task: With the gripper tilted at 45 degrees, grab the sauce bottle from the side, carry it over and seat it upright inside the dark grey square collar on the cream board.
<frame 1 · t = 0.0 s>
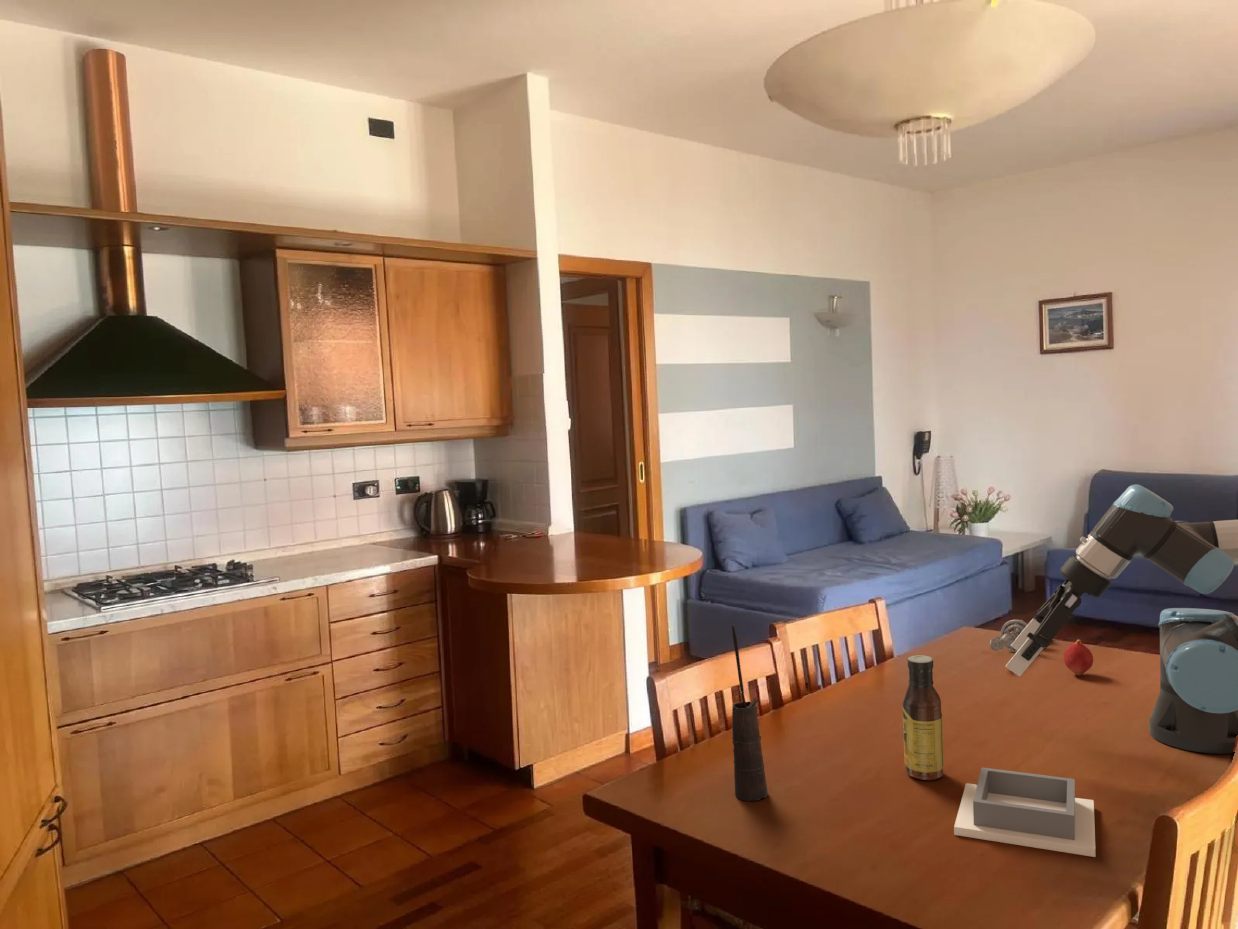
hand: (1014, 660, 163), 15 cm above the table, fingers open, 13 cm apart
sauce bottle: (924, 776, 153), on the table
spaceship: (1017, 653, 220), on the table
bottle stand: (1025, 821, 135), on the table
butter churn: (755, 793, 149), on the table
onion: (1078, 676, 201), on the table
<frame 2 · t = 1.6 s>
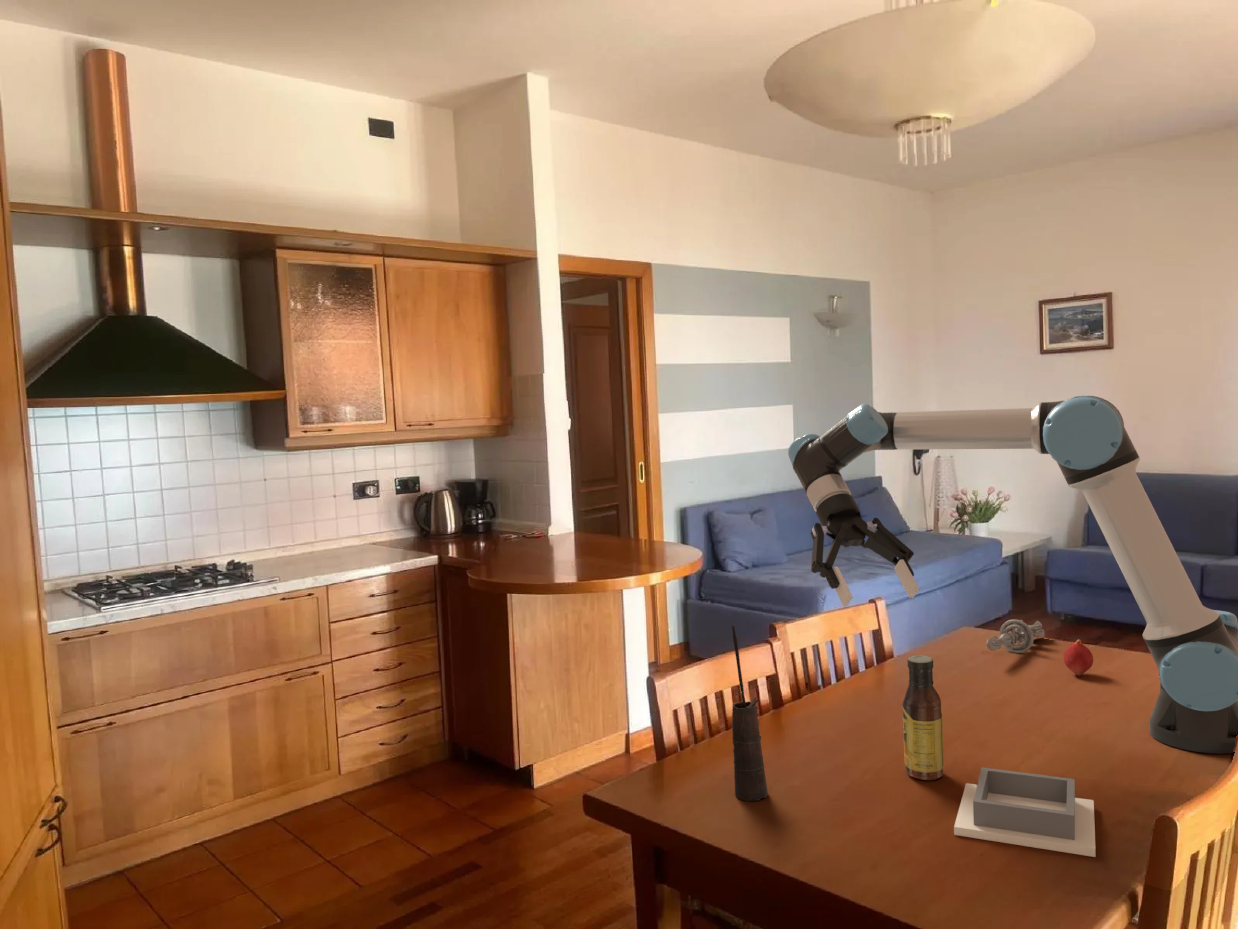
hand: (881, 598, 161), 28 cm above the table, fingers open, 13 cm apart
nothing on the table moved.
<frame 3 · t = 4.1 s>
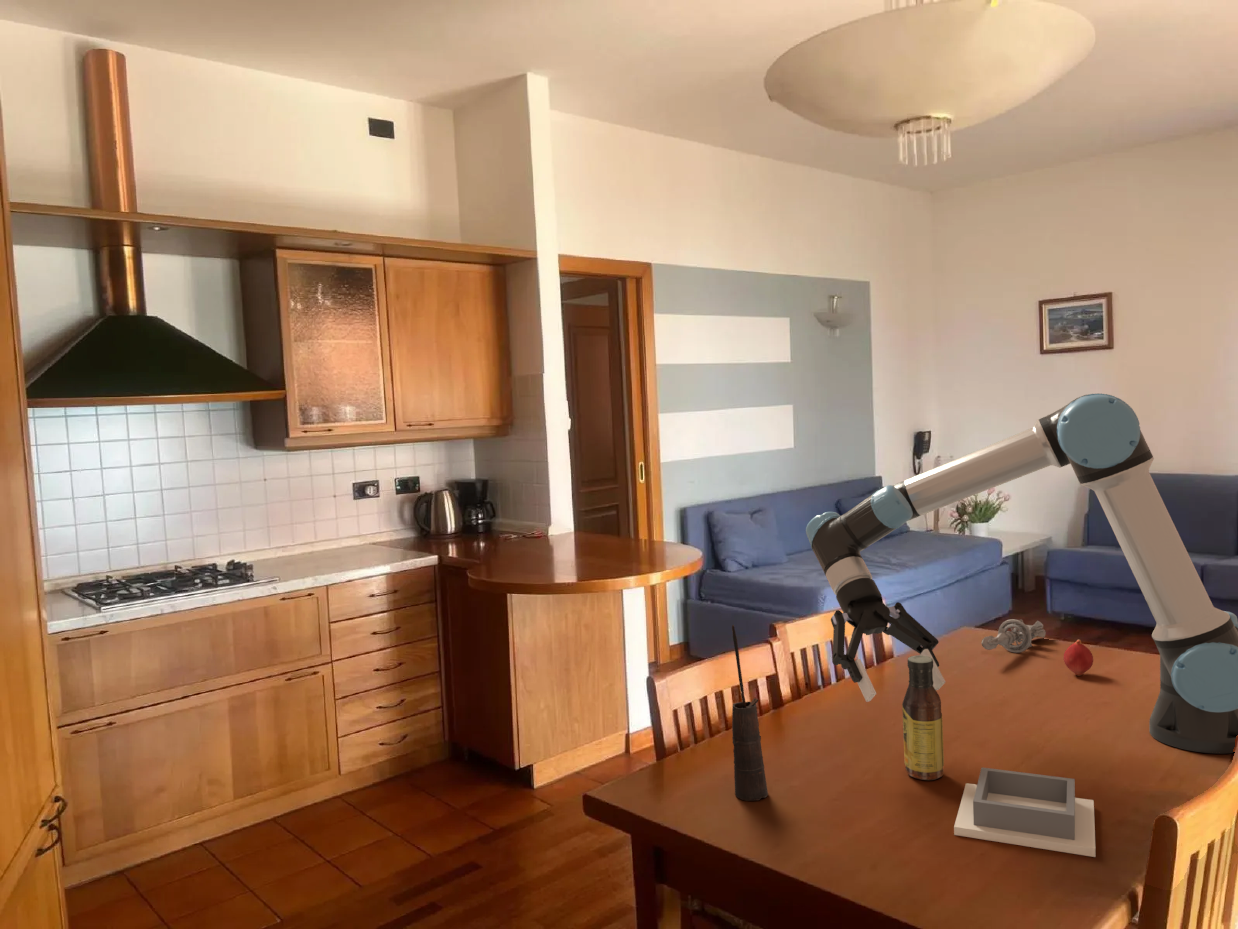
hand: (906, 692, 155), 13 cm above the table, fingers open, 13 cm apart
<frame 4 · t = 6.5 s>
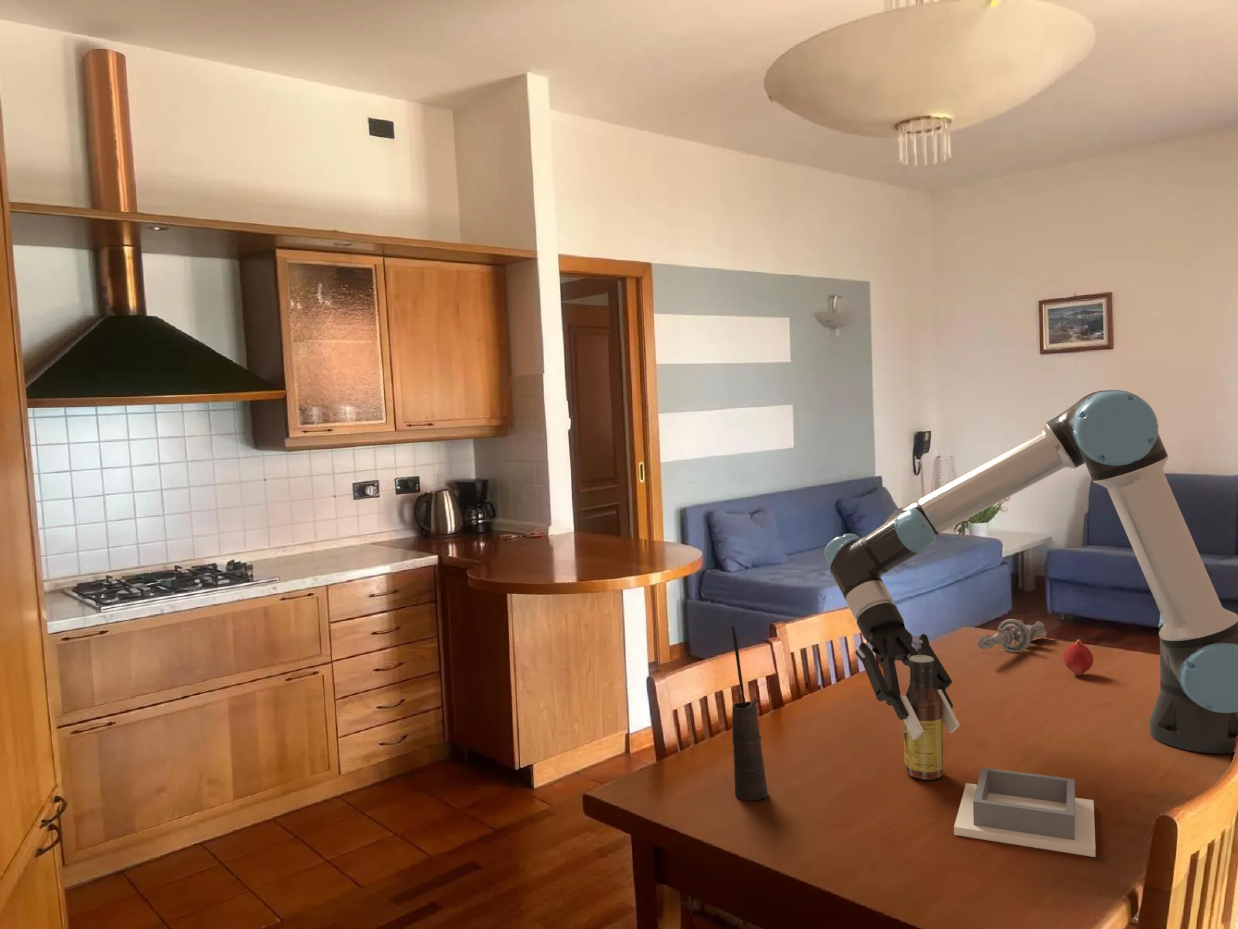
hand: (936, 732, 149), 8 cm above the table, fingers closed on sauce bottle, 6 cm apart
sauce bottle: (924, 776, 153), on the table, touching gripper
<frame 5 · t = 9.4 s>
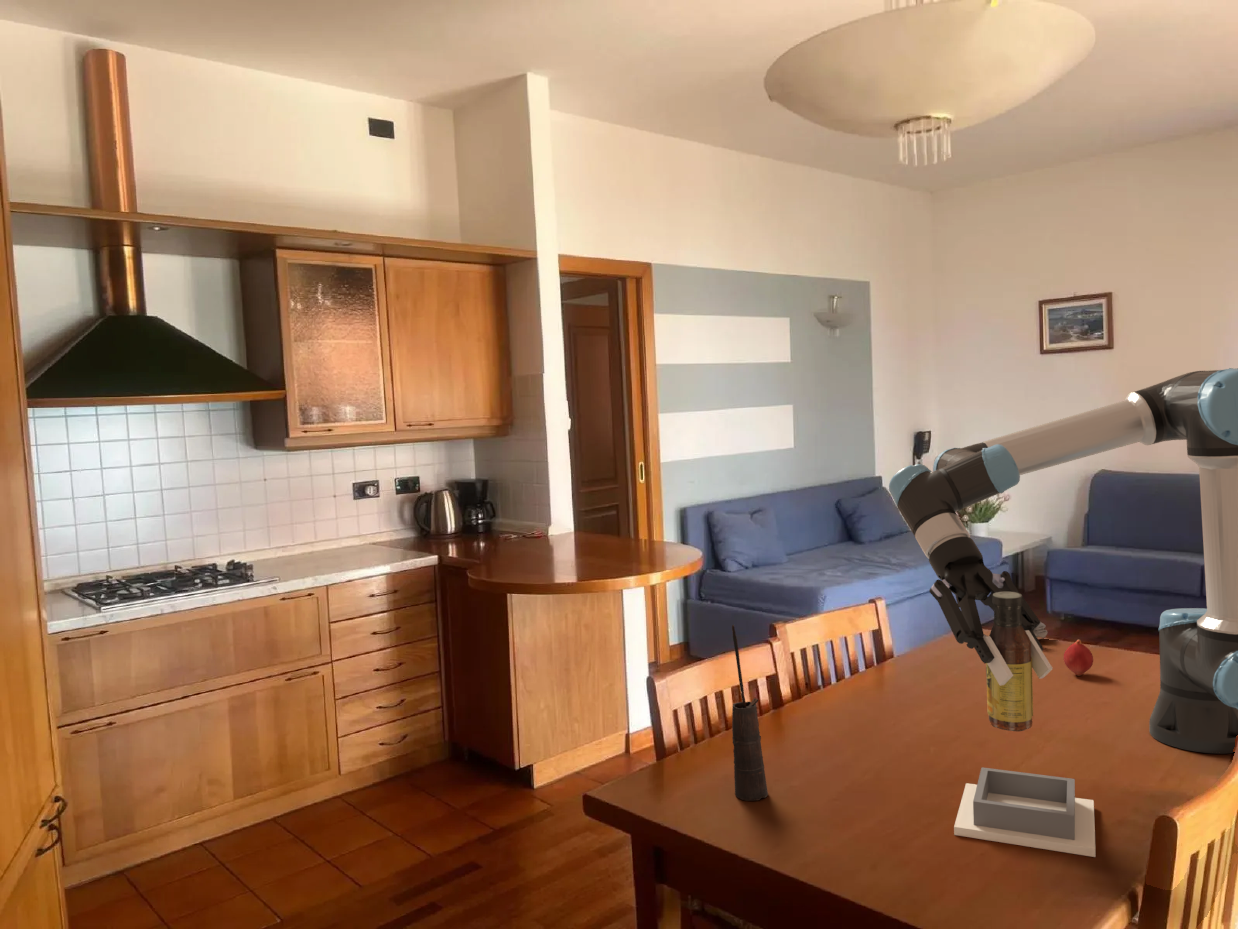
hand: (1026, 677, 132), 22 cm above the table, fingers closed on sauce bottle, 6 cm apart
sauce bottle: (1010, 727, 136), point 13 cm above the table, touching gripper
when the fingers open (11 cm above the table, at t = 12.5 s): sauce bottle drops 1 cm, resting on bottle stand.
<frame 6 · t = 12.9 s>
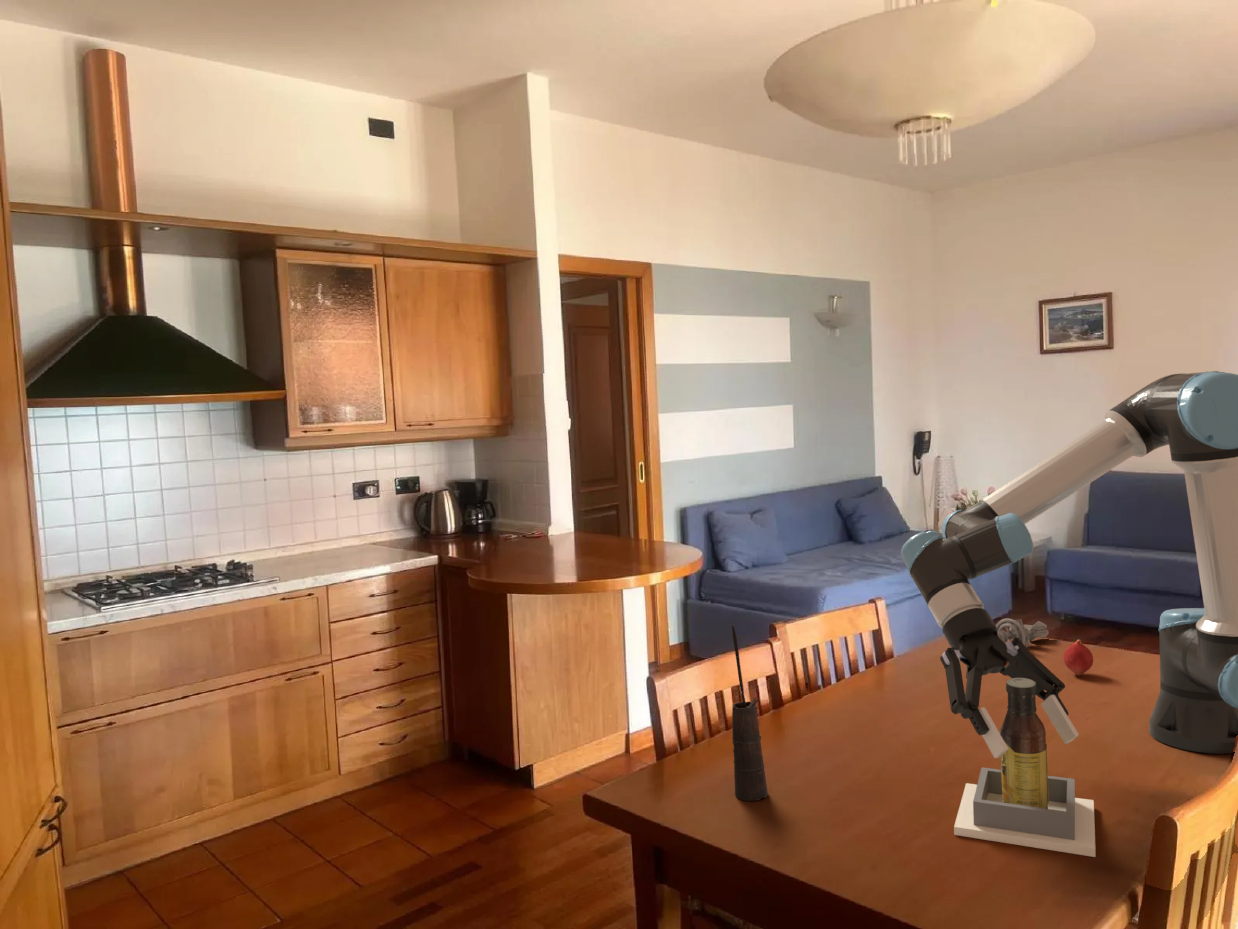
hand: (1037, 746, 132), 12 cm above the table, fingers open, 12 cm apart
sauce bottle: (1025, 813, 135), point 1 cm above the table, touching bottle stand
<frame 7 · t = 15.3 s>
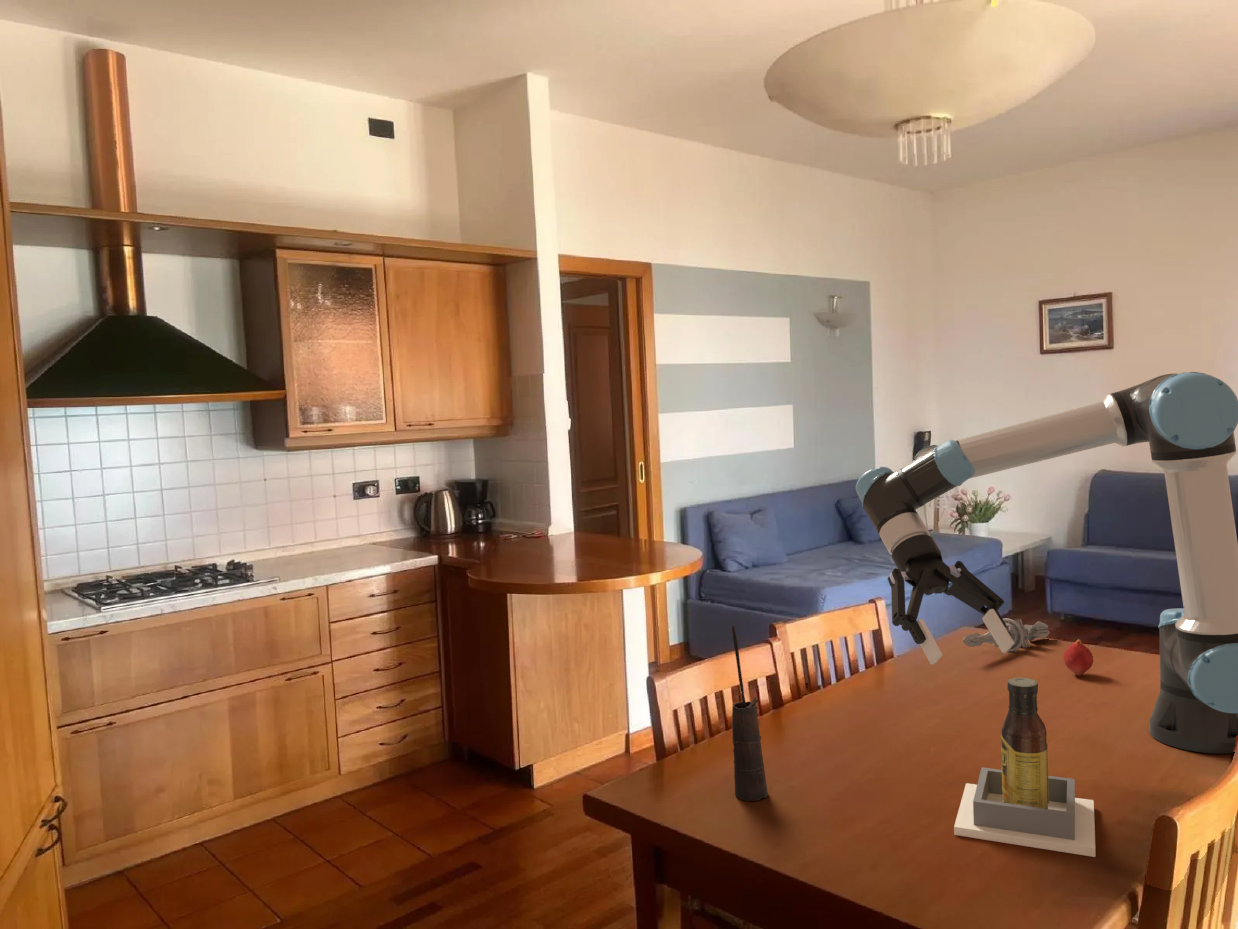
hand: (973, 654, 144), 22 cm above the table, fingers open, 13 cm apart
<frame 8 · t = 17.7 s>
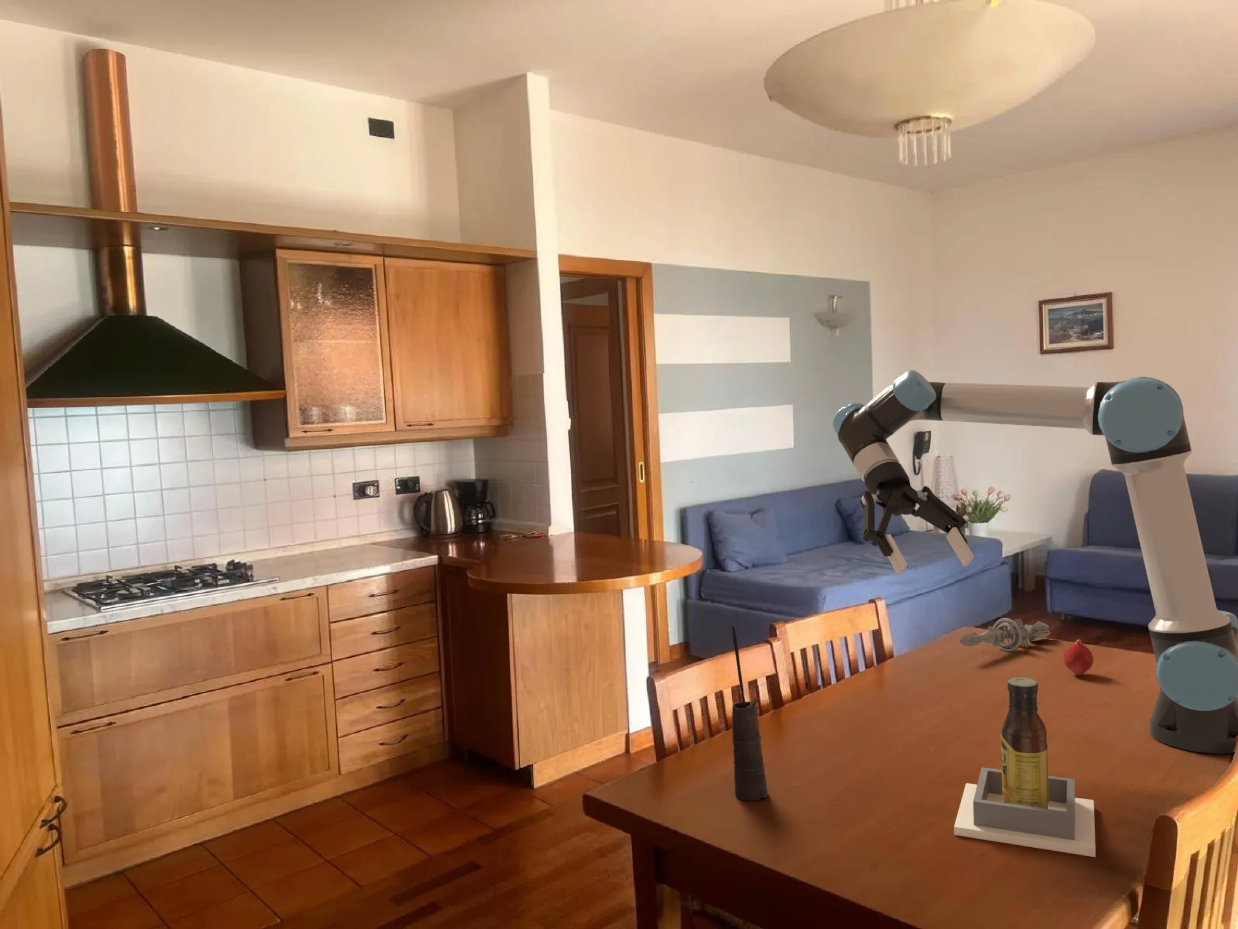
hand: (936, 565, 157), 34 cm above the table, fingers open, 13 cm apart
at the end: sauce bottle 0.1 cm off-centre on the bottle stand, point 1.0 cm above the bottle stand's base; sauce bottle tilted 0°; the gripper is holding nothing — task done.
